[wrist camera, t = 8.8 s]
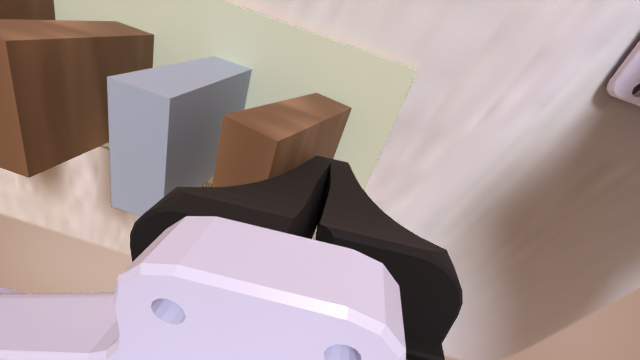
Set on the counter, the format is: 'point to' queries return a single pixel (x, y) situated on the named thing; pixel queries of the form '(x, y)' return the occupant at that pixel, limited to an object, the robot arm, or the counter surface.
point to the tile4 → (27, 9)
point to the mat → (270, 62)
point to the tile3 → (60, 87)
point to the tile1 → (277, 138)
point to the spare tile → (168, 127)
